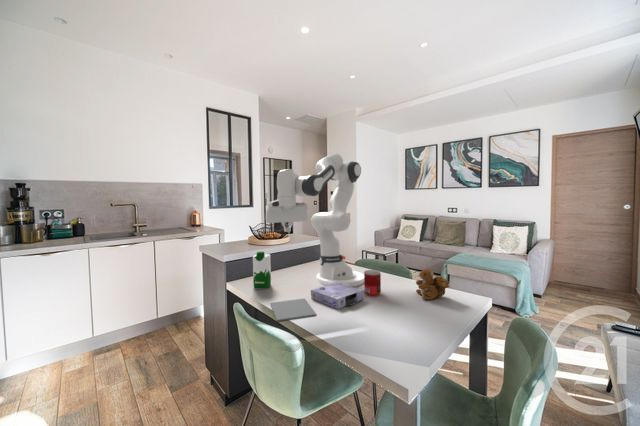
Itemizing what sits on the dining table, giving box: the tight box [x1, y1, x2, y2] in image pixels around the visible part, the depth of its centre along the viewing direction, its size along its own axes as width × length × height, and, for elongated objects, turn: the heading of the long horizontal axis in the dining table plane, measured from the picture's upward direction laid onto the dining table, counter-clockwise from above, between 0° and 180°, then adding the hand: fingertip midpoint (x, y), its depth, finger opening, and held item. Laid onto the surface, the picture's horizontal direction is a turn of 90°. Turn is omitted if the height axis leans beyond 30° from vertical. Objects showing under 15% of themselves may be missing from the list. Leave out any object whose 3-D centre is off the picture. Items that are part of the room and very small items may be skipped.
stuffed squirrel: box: [415, 268, 450, 300], centre depth 128 cm, size 10×14×13 cm
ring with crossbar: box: [316, 270, 364, 287], centre depth 156 cm, size 28×28×5 cm
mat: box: [270, 298, 317, 322], centre depth 114 cm, size 16×19×1 cm
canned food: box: [363, 269, 382, 297], centre depth 133 cm, size 8×8×11 cm
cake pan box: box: [310, 283, 365, 310], centre depth 125 cm, size 19×5×18 cm
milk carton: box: [252, 251, 272, 289], centre depth 144 cm, size 9×9×20 cm
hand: (287, 231), depth 129 cm, fingers closed
